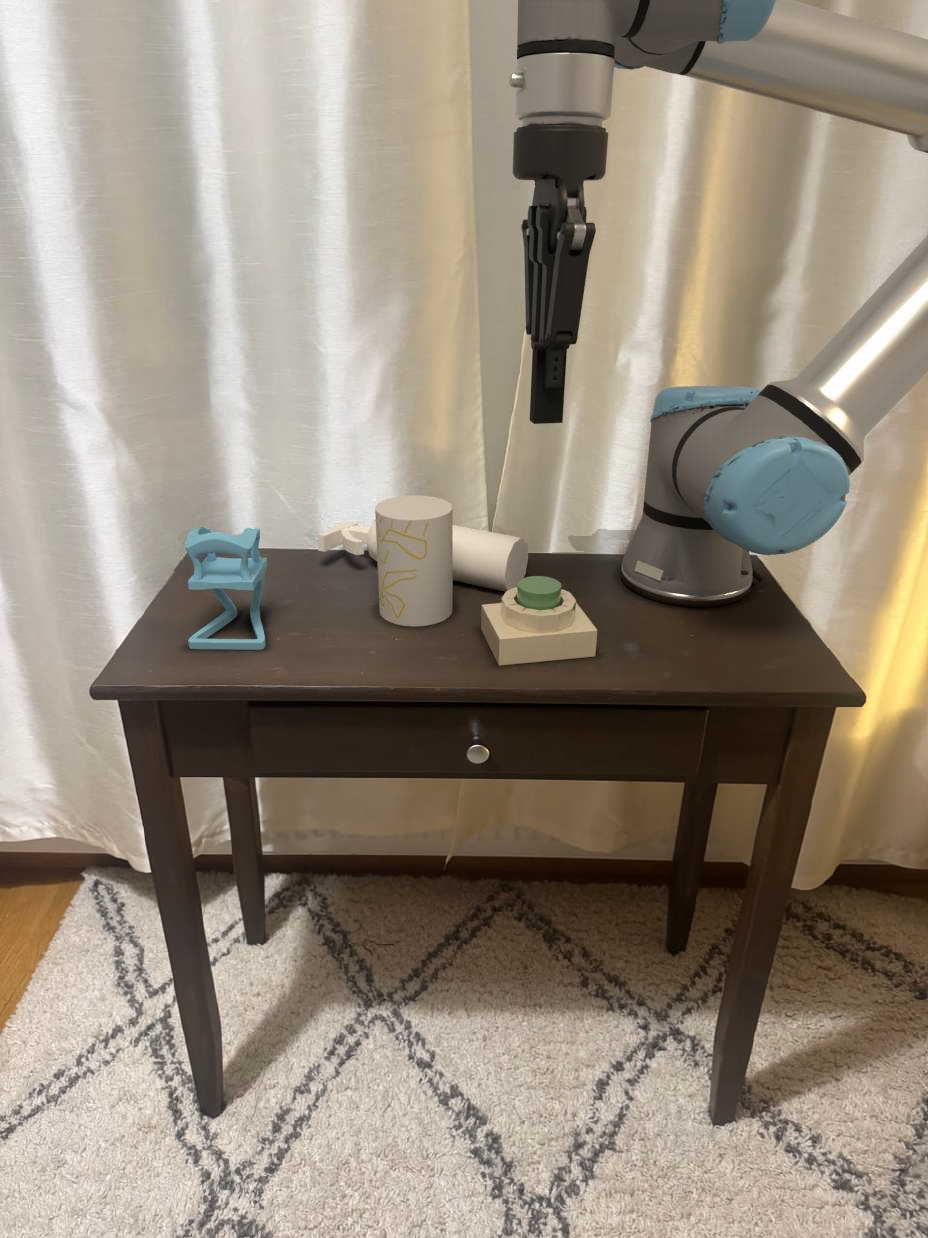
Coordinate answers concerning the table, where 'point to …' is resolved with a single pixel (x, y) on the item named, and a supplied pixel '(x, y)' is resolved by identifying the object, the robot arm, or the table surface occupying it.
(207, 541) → the chair
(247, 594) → the table surface
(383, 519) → the white cylinder
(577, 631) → the push button base
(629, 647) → the table surface
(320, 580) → the table surface
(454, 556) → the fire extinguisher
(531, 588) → the green cylindrical puck
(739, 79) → the robot arm
